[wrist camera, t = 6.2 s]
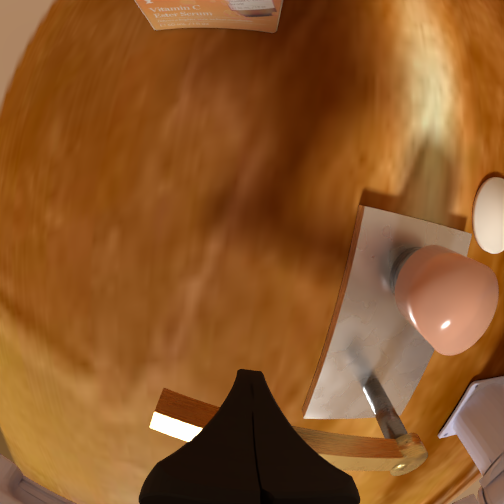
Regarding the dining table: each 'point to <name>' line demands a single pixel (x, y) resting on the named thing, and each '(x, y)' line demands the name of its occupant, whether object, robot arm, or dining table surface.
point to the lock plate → (376, 325)
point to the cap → (446, 297)
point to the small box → (213, 14)
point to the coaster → (489, 215)
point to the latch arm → (324, 443)
